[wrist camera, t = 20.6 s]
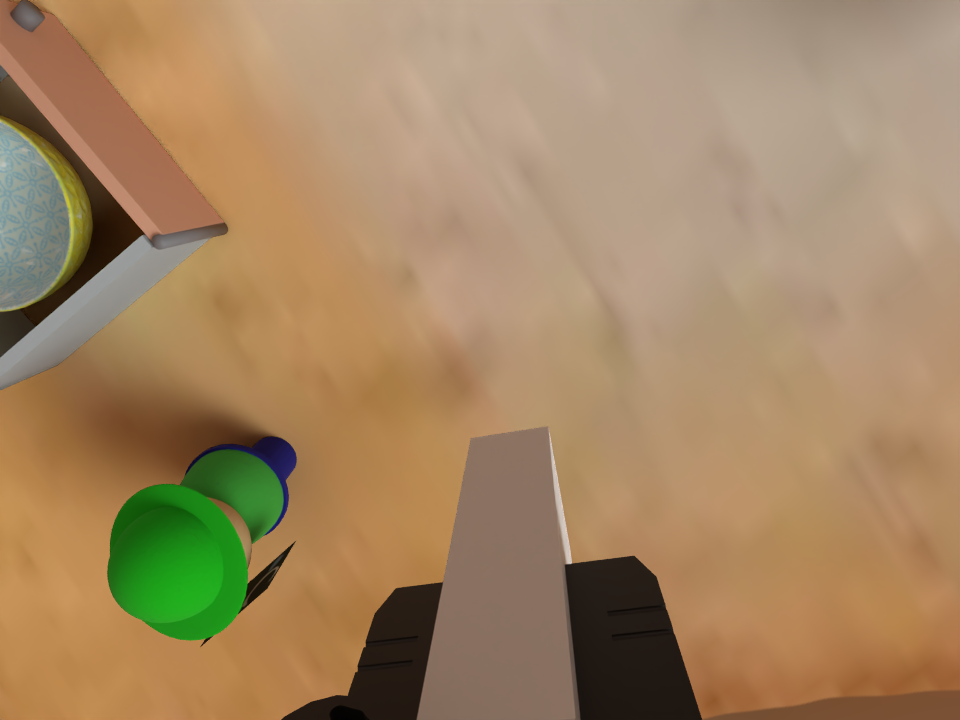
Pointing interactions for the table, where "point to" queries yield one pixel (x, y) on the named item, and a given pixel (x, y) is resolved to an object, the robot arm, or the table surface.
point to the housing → (83, 308)
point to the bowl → (38, 218)
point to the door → (102, 128)
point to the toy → (200, 540)
